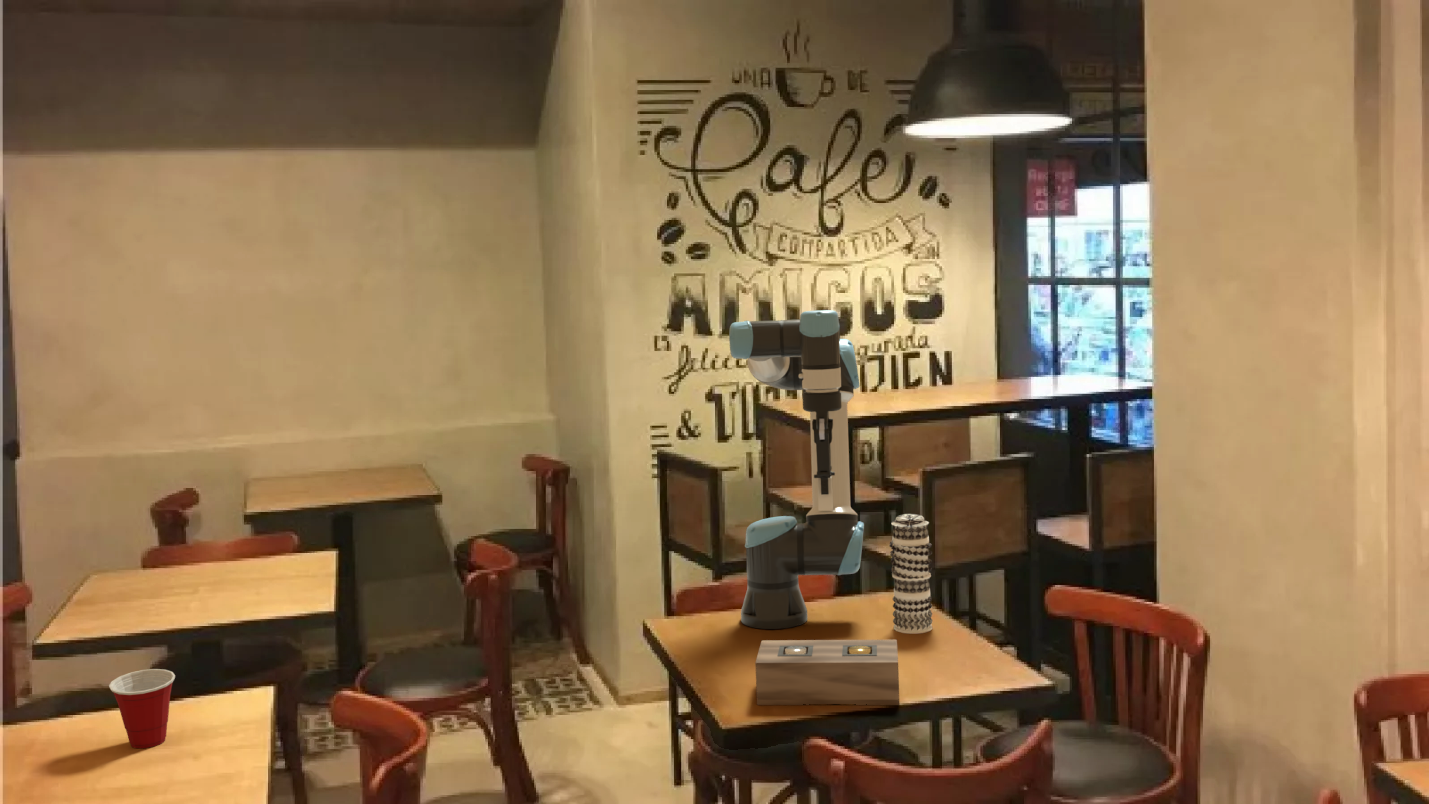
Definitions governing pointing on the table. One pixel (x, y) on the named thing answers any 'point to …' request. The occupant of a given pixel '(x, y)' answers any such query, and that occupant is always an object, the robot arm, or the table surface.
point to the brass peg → (859, 650)
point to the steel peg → (795, 650)
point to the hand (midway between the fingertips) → (825, 509)
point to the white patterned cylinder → (911, 574)
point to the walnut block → (827, 673)
